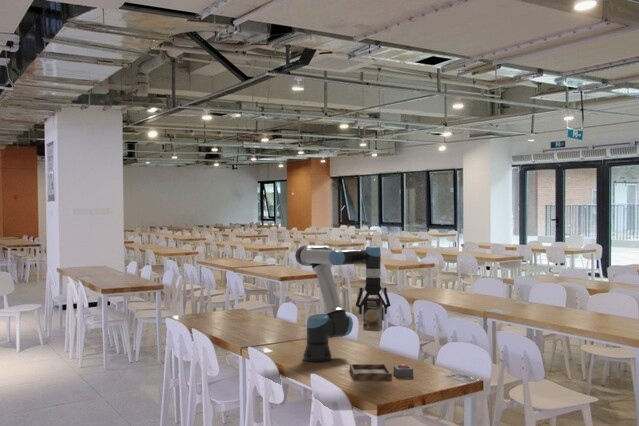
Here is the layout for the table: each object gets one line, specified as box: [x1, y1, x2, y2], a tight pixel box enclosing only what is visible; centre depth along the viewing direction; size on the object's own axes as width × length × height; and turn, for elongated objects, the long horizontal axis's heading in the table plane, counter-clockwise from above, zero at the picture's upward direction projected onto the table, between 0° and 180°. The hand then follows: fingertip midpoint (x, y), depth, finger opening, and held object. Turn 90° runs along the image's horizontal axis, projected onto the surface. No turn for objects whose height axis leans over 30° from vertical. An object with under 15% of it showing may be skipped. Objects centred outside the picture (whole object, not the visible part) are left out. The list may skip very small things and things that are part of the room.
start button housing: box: [393, 364, 414, 379], centre depth 285 cm, size 8×8×4 cm
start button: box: [398, 363, 409, 368], centre depth 285 cm, size 4×4×3 cm
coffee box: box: [362, 297, 384, 333], centre depth 299 cm, size 9×6×16 cm
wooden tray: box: [349, 363, 393, 381], centre depth 286 cm, size 18×18×3 cm
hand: (372, 320), depth 299 cm, fingers closed on coffee box, 10 cm apart
